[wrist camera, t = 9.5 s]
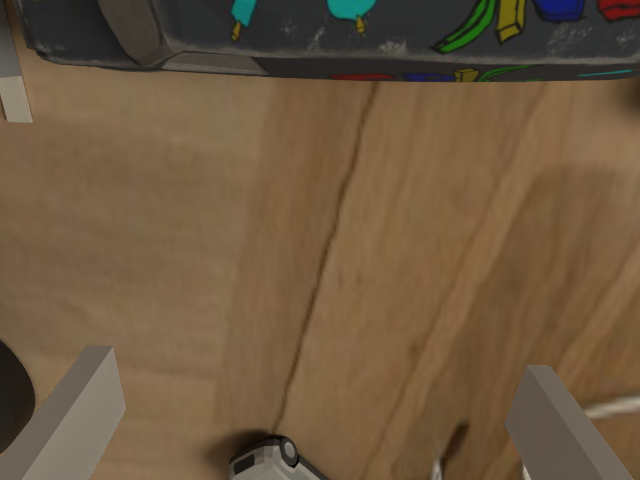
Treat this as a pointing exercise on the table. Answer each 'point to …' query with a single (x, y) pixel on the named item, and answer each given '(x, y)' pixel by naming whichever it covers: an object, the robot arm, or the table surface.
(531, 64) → the toy van
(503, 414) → the table surface
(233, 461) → the toy car
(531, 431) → the robot arm
